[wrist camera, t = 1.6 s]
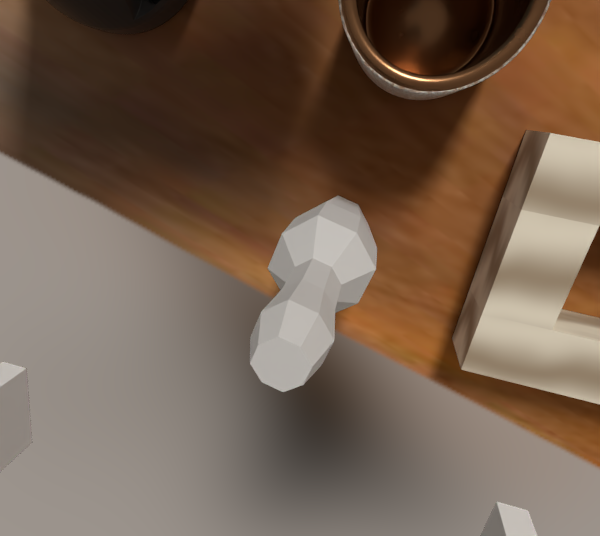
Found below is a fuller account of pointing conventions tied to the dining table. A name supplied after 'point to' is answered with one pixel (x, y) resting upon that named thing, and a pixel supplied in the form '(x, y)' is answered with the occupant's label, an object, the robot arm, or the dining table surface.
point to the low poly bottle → (311, 291)
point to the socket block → (537, 274)
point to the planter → (437, 41)
